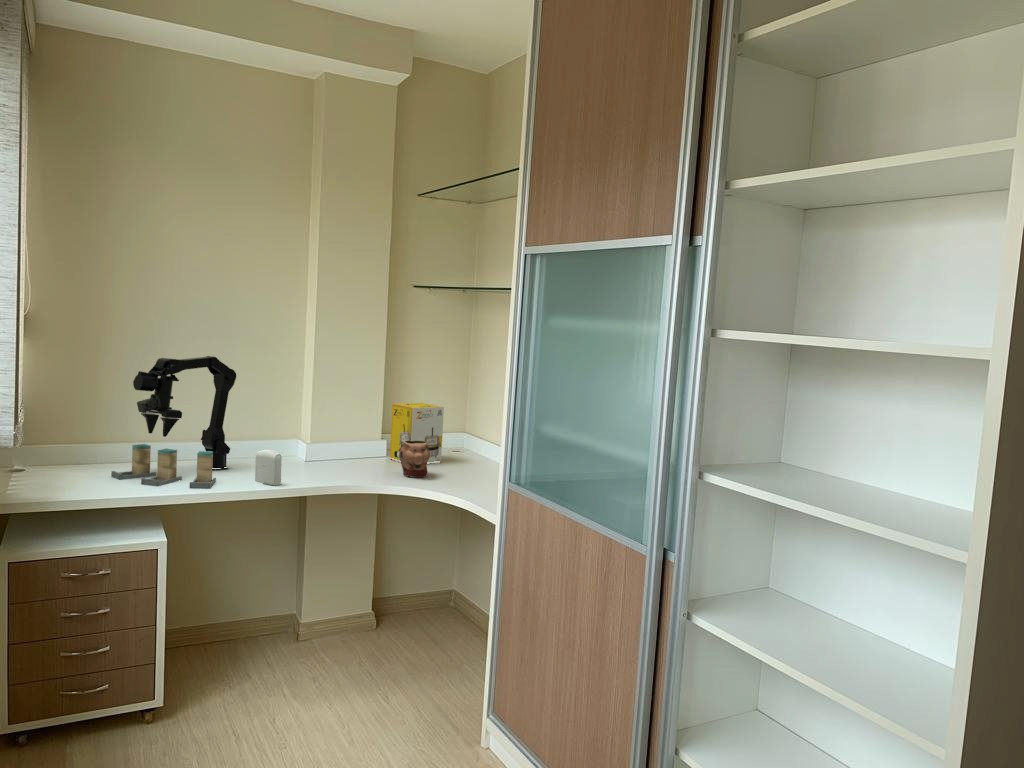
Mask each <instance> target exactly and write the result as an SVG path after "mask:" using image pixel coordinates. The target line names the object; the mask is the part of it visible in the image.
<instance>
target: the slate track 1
mask: <svg viewBox="0 0 1024 768" xmlns="http://www.w3.org/2000/svg"><path fill="white" fill-rule="evenodd" d="M149 477H151V478H152V477H157V472H156V471H155V472H154V471H153V472H150V473H143V474H134V475H132V470H130V471H129V470H128V471H121V472H119V471H118V472H117V471H115V470H111V478H114V479H117V480H119V481H124V480H131V479H141V478H149Z"/></svg>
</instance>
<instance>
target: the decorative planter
mask: <svg viewBox="0 0 1024 768" xmlns="http://www.w3.org/2000/svg"><path fill="white" fill-rule="evenodd" d="M429 458H430V452H429V449H428V446H427V443H426V442H424V441H404V442H403V445H402V448H401V449H400V452H399V459H400V461H401V463H400V464H401V465H400V466H401V469H402V471H403V473H402V474H403V476H405V477H408V476H410V477H409V478H424V477H423V476H426V475H428V464H427V462H428V460H429ZM426 477H427V476H426Z"/></svg>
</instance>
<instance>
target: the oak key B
mask: <svg viewBox="0 0 1024 768" xmlns="http://www.w3.org/2000/svg"><path fill="white" fill-rule="evenodd" d="M177 464H178V449H173V448H163V449H158V450H157V468H156V471H157V472H156V477H157V480H160V481H164V480H168V479H172V478H176V477H177V471H178V470H177V467H178V466H177Z"/></svg>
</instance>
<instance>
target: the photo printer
mask: <svg viewBox="0 0 1024 768" xmlns="http://www.w3.org/2000/svg"><path fill="white" fill-rule="evenodd" d="M282 461H283V460H282V455H281V454H280V453H279V452H277V451H275V450H273V449H262V450H259V451H257V453H256V454H255V465H254V466H255V467H254V468H255V469H254V470H255V471H254V472H255V473H254V480H255V482H256V483H262V484H265V485H270V486H280V484H282Z"/></svg>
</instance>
